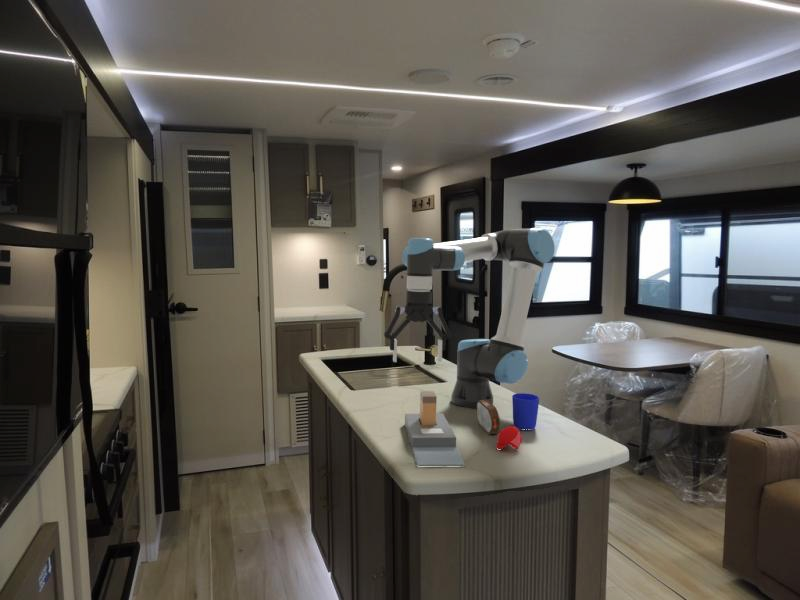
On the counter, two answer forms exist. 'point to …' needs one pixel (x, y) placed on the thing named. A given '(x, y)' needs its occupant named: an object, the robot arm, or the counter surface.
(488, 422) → the tin
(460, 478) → the counter surface
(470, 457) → the counter surface
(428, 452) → the mat
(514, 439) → the cap
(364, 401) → the counter surface
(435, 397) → the plug
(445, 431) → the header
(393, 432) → the counter surface
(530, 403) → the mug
